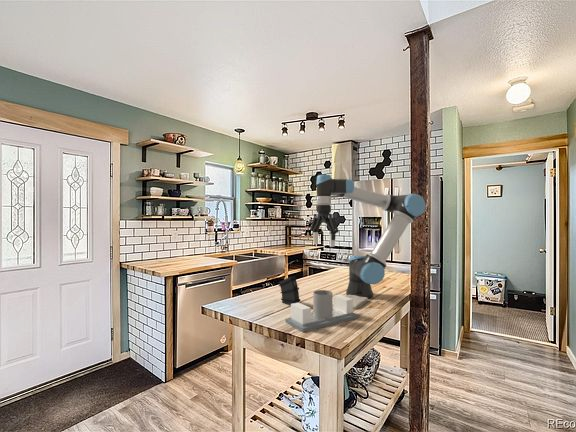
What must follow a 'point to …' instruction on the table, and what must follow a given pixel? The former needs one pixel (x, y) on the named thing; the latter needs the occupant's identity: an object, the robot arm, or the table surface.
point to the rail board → (321, 324)
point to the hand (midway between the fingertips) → (323, 245)
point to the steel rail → (315, 319)
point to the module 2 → (343, 304)
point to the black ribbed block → (289, 291)
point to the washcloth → (357, 301)
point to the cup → (322, 304)
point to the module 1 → (301, 313)
